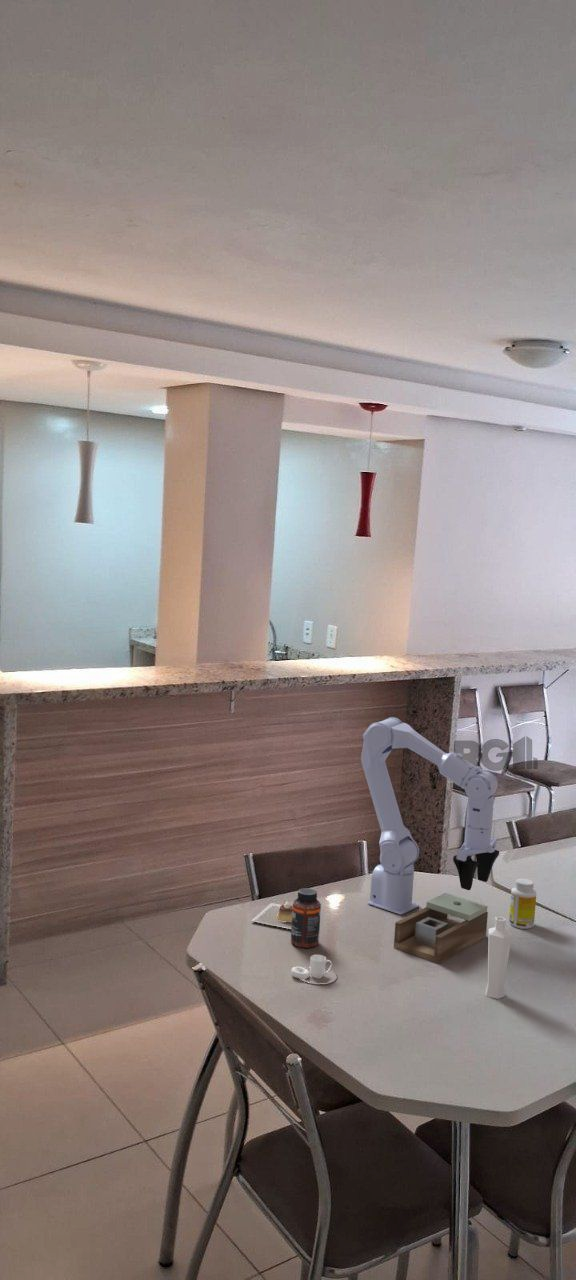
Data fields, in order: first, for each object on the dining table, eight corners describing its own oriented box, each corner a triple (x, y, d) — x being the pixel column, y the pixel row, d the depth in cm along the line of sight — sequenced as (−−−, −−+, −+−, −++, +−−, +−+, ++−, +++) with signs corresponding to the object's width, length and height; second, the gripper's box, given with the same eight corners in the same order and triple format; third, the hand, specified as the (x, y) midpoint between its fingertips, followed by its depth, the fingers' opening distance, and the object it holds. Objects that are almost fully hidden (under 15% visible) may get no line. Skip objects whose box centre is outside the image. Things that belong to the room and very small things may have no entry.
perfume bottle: (490, 986, 195) (496, 912, 193) (510, 994, 192) (516, 919, 190) (477, 992, 192) (483, 917, 190) (496, 1001, 188) (502, 924, 187)
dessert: (270, 907, 231) (272, 887, 230) (319, 917, 227) (321, 896, 226) (250, 925, 220) (251, 904, 219) (301, 936, 215) (303, 914, 215)
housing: (393, 947, 211) (395, 922, 210) (442, 921, 226) (444, 898, 226) (438, 963, 204) (440, 937, 203) (486, 936, 219) (487, 912, 219)
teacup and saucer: (286, 981, 193) (288, 961, 193) (300, 965, 200) (301, 945, 200) (330, 990, 190) (331, 970, 190) (342, 974, 198) (343, 954, 197)
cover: (426, 907, 219) (426, 900, 219) (444, 898, 225) (445, 891, 225) (469, 921, 213) (469, 914, 212) (487, 911, 219) (487, 904, 219)
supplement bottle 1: (323, 942, 211) (327, 890, 210) (309, 951, 206) (312, 898, 205) (300, 935, 215) (303, 884, 213) (284, 943, 210) (288, 891, 208)
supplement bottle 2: (538, 926, 227) (542, 883, 225) (523, 931, 223) (527, 887, 222) (518, 918, 231) (522, 875, 230) (503, 923, 227) (507, 879, 226)
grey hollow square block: (414, 941, 212) (415, 923, 211) (426, 934, 215) (428, 916, 215) (434, 948, 208) (436, 929, 208) (447, 941, 212) (448, 923, 212)
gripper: (478, 836, 215) (474, 897, 216) (510, 823, 226) (505, 881, 227) (450, 829, 219) (445, 888, 221) (482, 816, 230) (478, 873, 232)
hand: (474, 884), depth 224 cm, fingers open, 7 cm apart
